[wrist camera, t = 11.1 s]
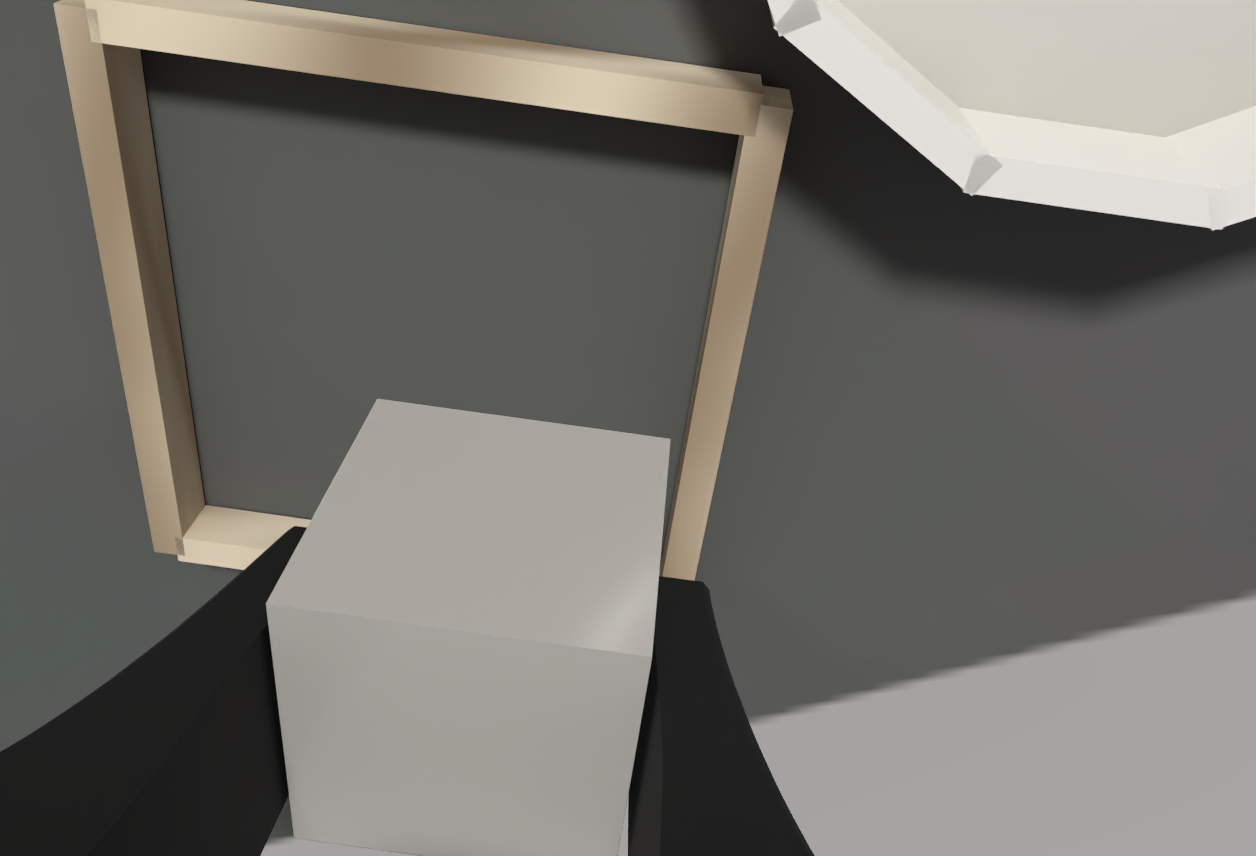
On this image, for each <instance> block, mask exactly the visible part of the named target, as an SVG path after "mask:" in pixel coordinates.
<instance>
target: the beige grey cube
mask: <svg viewBox="0 0 1256 856" xmlns="http://www.w3.org/2000/svg"><path fill="white" fill-rule="evenodd" d="M669 451H670V439H667V438H660V437H653V436H645V435H638V434H631V433H624V432H616V431H609V430H602V429H594V428H587V427H580V426H572V425H565V424H558V423H551V422H543V421H536V420H529V419H521V418H514V417H507V416H499V415H492V414H485V413H478V412H470V411H463V410H456V409H448V408H441V407H434V406H426V405H419V404H412V403H405V402H397V401H390V400H383V399H377V400H376V402H375V404H374V406H373V408H372V409H371V411H370V413H369V415H368V417H367V419H366V420H365V422H364V424H363V426H362V428H361V430H360V431H359V433H358V435H357V437H356V439H355V441H354V442H353V444H352V446H351V448H350V450H349V452H348V454H347V455H346V457H345V459H344V461H343V463H342V465H341V466H340V468H339V470H338V472H337V474H336V476H335V477H334V479H333V481H332V483H331V485H330V487H329V488H328V490H327V492H326V494H325V496H324V498H323V499H322V501H321V503H320V505H319V507H318V509H317V510H316V512H315V514H314V516H313V518H312V520H311V522H310V523H309V525H308V527H307V529H306V531H305V533H304V534H303V536H302V538H301V540H300V542H299V544H298V545H297V547H296V549H295V551H294V553H293V555H292V556H291V558H290V560H289V562H288V564H287V566H286V567H285V569H284V571H283V573H282V575H281V577H280V579H279V580H278V582H277V584H276V586H275V588H274V590H273V591H272V593H271V595H270V597H269V599H268V601H267V602H266V609H267V618H268V626H269V634H270V642H271V651H272V659H273V667H274V675H275V684H276V692H277V700H278V708H279V717H280V725H281V733H282V741H283V750H284V758H285V766H286V774H287V782H288V791H289V799H290V807H291V815H292V824H293V832H294V838H297V839H305V840H311V841H319V842H326V843H333V844H340V845H347V846H354V847H362V848H368V849H375V850H382V851H390V852H397V853H404V854H411V855H418V856H618V851H619V845H620V839H621V833H622V827H623V822H624V816H625V810H626V805H627V799H628V793H629V787H630V782H631V776H632V770H633V764H634V759H635V753H636V747H637V741H638V736H639V730H640V724H641V718H642V713H643V707H644V701H645V696H646V690H647V684H648V678H649V673H650V667H651V661H652V653H653V641H654V629H655V618H656V606H657V594H658V582H659V570H660V558H661V546H662V534H663V522H664V510H665V499H666V487H667V475H668V463H669Z"/></svg>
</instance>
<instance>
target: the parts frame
mask: <svg viewBox="0 0 1256 856" xmlns="http://www.w3.org/2000/svg"><path fill="white" fill-rule="evenodd" d="M53 4H54V10H55V15H56V20H57V26H58V31H59V37H60V42H61V48H62V53H63V58H64V64H65V69H66V75H67V80H68V86H69V91H70V96H71V102H72V107H73V113H74V118H75V123H76V129H77V134H78V140H79V145H80V151H81V156H82V161H83V167H84V172H85V178H86V183H87V189H88V194H89V199H90V205H91V210H92V216H93V221H94V227H95V232H96V237H97V243H98V248H99V254H100V259H101V265H102V270H103V275H104V281H105V286H106V292H107V297H108V303H109V308H110V313H111V319H112V324H113V330H114V335H115V340H116V346H117V351H118V357H119V362H120V368H121V373H122V378H123V384H124V389H125V395H126V400H127V406H128V411H129V416H130V422H131V427H132V433H133V438H134V444H135V449H136V454H137V460H138V465H139V471H140V476H141V482H142V487H143V492H144V498H145V503H146V509H147V514H148V519H149V525H150V530H151V536H152V541H153V547H154V552H161V553H168V554H175V555H178V560H179V561H184V562H191V563H198V564H205V565H213V566H220V567H227V568H234V569H241V570H244V569H246V568H247V567H248V566H249V565H250V564H251V563H252V562H253V561H254V560H256V559H257V558H258V557H259V556H260V555H261V554H262V553H263V552H264V551H265V550H267V549H268V548H269V547H270V546H271V545H272V544H273V543H274V542H275V541H276V540H278V539H279V538H280V537H281V536H282V535H283V534H284V533H285V532H287V531H288V530H289V529H291V528H292V527H294V526H299V527H306V528H307V527H308V525H309V523H310V522H311V520H307V519H300V518H293V517H286V516H279V515H272V514H265V513H258V512H251V511H244V510H237V509H230V508H223V507H216V506H209V505H205V501H204V494H203V487H202V480H201V473H200V466H199V459H198V452H197V445H196V438H195V431H194V424H193V417H192V410H191V403H190V396H189V389H188V382H187V375H186V368H185V361H184V354H183V347H182V340H181V333H180V326H179V319H178V312H177V305H176V298H175V291H174V284H173V277H172V270H171V263H170V256H169V249H168V242H167V235H166V228H165V221H164V214H163V207H162V200H161V193H160V186H159V179H158V172H157V165H156V158H155V151H154V144H153V137H152V130H151V123H150V116H149V109H148V102H147V95H146V88H145V81H144V74H143V67H142V60H141V53H140V49H145V50H152V51H159V52H166V53H173V54H180V55H187V56H194V57H201V58H208V59H215V60H222V61H229V62H236V63H243V64H250V65H257V66H264V67H271V68H278V69H285V70H292V71H299V72H306V73H312V74H319V75H326V76H333V77H340V78H347V79H354V80H361V81H368V82H375V83H382V84H389V85H396V86H403V87H410V88H417V89H424V90H431V91H438V92H445V93H452V94H459V95H466V96H473V97H480V98H487V99H494V100H500V101H507V102H514V103H521V104H528V105H535V106H542V107H549V108H556V109H563V110H570V111H577V112H584V113H591V114H598V115H605V116H612V117H619V118H626V119H633V120H640V121H647V122H654V123H661V124H668V125H675V126H681V127H688V128H695V129H702V130H709V131H716V132H723V133H730V134H737V135H739V139H738V145H737V150H736V156H735V161H734V167H733V172H732V178H731V183H730V189H729V194H728V200H727V205H726V210H725V216H724V221H723V227H722V232H721V238H720V243H719V249H718V254H717V260H716V265H715V271H714V276H713V281H712V287H711V292H710V298H709V303H708V309H707V314H706V320H705V325H704V331H703V336H702V342H701V347H700V352H699V358H698V363H697V369H696V374H695V380H694V385H693V391H692V396H691V402H690V407H689V413H688V418H687V423H686V429H685V434H684V440H683V445H682V451H681V456H680V462H679V467H678V473H677V478H676V484H675V489H674V494H673V500H672V505H671V511H670V516H669V522H668V527H667V533H666V538H665V544H664V549H663V554H662V560H661V565H660V570H659V576H663V577H671V578H678V579H685V580H692V581H694V580H695V575H696V570H697V566H698V561H699V556H700V551H701V547H702V542H703V537H704V532H705V528H706V523H707V518H708V513H709V509H710V504H711V499H712V494H713V490H714V485H715V480H716V475H717V470H718V466H719V461H720V456H721V451H722V447H723V442H724V437H725V432H726V428H727V423H728V418H729V413H730V409H731V404H732V399H733V394H734V390H735V385H736V380H737V375H738V371H739V366H740V361H741V356H742V352H743V347H744V342H745V337H746V332H747V328H748V323H749V318H750V313H751V309H752V304H753V299H754V294H755V290H756V285H757V280H758V275H759V271H760V266H761V261H762V256H763V252H764V247H765V242H766V237H767V233H768V228H769V223H770V218H771V214H772V209H773V204H774V199H775V194H776V190H777V185H778V180H779V175H780V171H781V166H782V161H783V156H784V152H785V147H786V142H787V137H788V133H789V128H790V123H791V118H792V114H793V106H792V101H791V96H790V91H789V89H783V88H776V87H770V86H763V85H762V80H761V75H760V74H753V73H746V72H739V71H732V70H725V69H718V68H712V67H705V66H698V65H691V64H684V63H677V62H670V61H663V60H656V59H649V58H642V57H635V56H628V55H621V54H614V53H607V52H600V51H593V50H586V49H579V48H572V47H566V46H559V45H552V44H545V43H538V42H531V41H524V40H517V39H510V38H503V37H496V36H489V35H482V34H475V33H468V32H461V31H454V30H447V29H440V28H433V27H426V26H420V25H413V24H406V23H399V22H392V21H385V20H378V19H371V18H364V17H357V16H350V15H343V14H336V13H329V12H322V11H315V10H308V9H301V8H294V7H287V6H280V5H274V4H267V3H260V2H253V1H246V0H61V1H58V2H56V3H53Z"/></svg>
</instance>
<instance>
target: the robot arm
mask: <svg viewBox="0 0 1256 856" xmlns="http://www.w3.org/2000/svg"><path fill="white" fill-rule="evenodd" d="M306 529H307V528H306V527H299V526H294V527H292V528H291V529H289V530H288V531H287V532H285V533H284V534H283V535H282V536H281V537H280V538H279V539H278V540H276V541H275V542H274V543H273V544H272V545H271V546H270V547H269V548H268V549H267V550H265V551H264V552H263V553H262V554H261V555H260V556H259V557H258V558H257V559H256V560H254V561H253V562H252V563H251V564H250V565H249V566H248V567H247V568H246V569H244V570H243V571H242V572H241V573H240V574H239V575H238V576H237V577H236V578H234V579H233V580H232V581H231V582H230V583H229V584H228V585H226V586H225V587H224V588H223V589H222V590H221V591H220V592H219V593H217V594H216V595H215V596H214V597H213V598H212V599H210V600H209V601H208V602H207V603H206V604H204V605H203V606H202V607H201V608H200V609H199V610H197V611H196V612H195V613H194V614H193V615H191V616H190V617H189V618H188V619H187V620H185V621H184V622H183V623H182V624H181V625H180V626H178V627H177V628H176V629H175V630H174V631H172V632H171V633H170V634H169V635H167V636H166V637H165V638H164V639H162V640H161V641H160V642H159V643H157V644H156V645H155V646H153V647H152V648H151V649H150V650H148V651H147V652H146V653H144V654H143V655H142V656H140V657H139V658H138V659H136V660H135V661H134V662H133V663H131V664H130V665H129V666H127V667H126V668H125V669H123V670H122V671H121V672H119V673H118V674H117V675H116V676H114V677H113V678H112V679H110V680H109V681H108V682H106V683H105V684H103V685H102V686H101V687H99V688H98V689H96V690H95V691H94V692H92V693H91V694H89V695H88V696H87V697H85V698H84V699H82V700H81V701H79V702H78V703H76V704H75V705H74V706H72V707H71V708H69V709H68V710H66V711H65V712H63V713H62V714H60V715H59V716H57V717H56V718H54V719H53V720H51V721H50V722H48V723H46V724H45V725H43V726H42V727H40V728H39V729H37V730H36V731H34V732H33V733H31V734H29V735H28V736H26V737H25V738H23V739H21V740H20V741H18V742H16V743H15V744H13V745H11V746H10V747H8V748H6V749H5V750H3V751H1V752H0V856H260V855H261V853H262V851H263V848H264V846H265V844H266V842H267V840H268V838H269V836H270V833H271V831H272V829H273V827H274V825H275V823H276V821H277V819H278V816H279V814H280V812H281V810H282V808H283V806H284V804H285V802H286V799H287V797H288V795H289V791H288V782H287V774H286V766H285V758H284V750H283V741H282V733H281V725H280V717H279V708H278V700H277V692H276V684H275V675H274V667H273V659H272V651H271V642H270V634H269V626H268V618H267V609H266V602H267V601H268V599H269V597H270V595H271V593H272V591H273V590H274V588H275V586H276V584H277V582H278V580H279V579H280V577H281V575H282V573H283V571H284V569H285V567H286V566H287V564H288V562H289V560H290V558H291V556H292V555H293V553H294V551H295V549H296V547H297V545H298V544H299V542H300V540H301V538H302V536H303V534H304V533H305V531H306ZM628 810H629V811H628V856H814V854H813V853H812V851H811V849H810V848H809V846H808V844H807V842H806V840H805V839H804V836H803V835H802V833H801V831H800V829H799V827H798V826H797V824H796V822H795V820H794V818H793V816H792V814H791V813H790V811H789V809H788V807H787V805H786V803H785V801H784V799H783V797H782V795H781V793H780V791H779V789H778V787H777V785H776V783H775V781H774V778H773V777H772V774H771V772H770V770H769V768H768V765H767V763H766V761H765V759H764V757H763V754H762V752H761V750H760V748H759V745H758V743H757V741H756V738H755V736H754V734H753V731H752V729H751V726H750V724H749V721H748V719H747V716H746V714H745V711H744V708H743V706H742V703H741V700H740V698H739V695H738V693H737V690H736V687H735V685H734V682H733V679H732V676H731V673H730V670H729V667H728V664H727V661H726V658H725V654H724V651H723V648H722V645H721V641H720V638H719V634H718V630H717V627H716V622H715V618H714V614H713V609H712V604H711V599H710V591H709V589H708V588H707V587H706V586H705V584H704V583H703V582H700V581H692V580H685V579H678V578H671V577H663V576H659V582H658V594H657V606H656V618H655V629H654V641H653V653H652V661H651V667H650V673H649V678H648V684H647V690H646V696H645V701H644V707H643V713H642V718H641V724H640V730H639V736H638V741H637V747H636V753H635V759H634V764H633V770H632V776H631V782H630V787H629V809H628Z"/></svg>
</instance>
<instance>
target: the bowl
mask: <svg viewBox="0 0 1256 856" xmlns="http://www.w3.org/2000/svg"><path fill="white" fill-rule="evenodd" d="M767 1H768V4H769V7H770V12H771V17H772V22H773V28H774V29H775V30H777V31H778V34H779V37H780V36H784V37H785V38H786V39H787V40H788V41H789V42H791V43H792V44H793V45H794V46H795V47H797V48H798V49H799V50H800V51H801V52H802V53H804V54H805V55H806V56H807V57H808V58H809V59H811V60H812V61H813V62H814V63H815V64H817V65H818V66H819V67H820V68H821V69H822V70H824V71H825V72H826V73H827V74H828V75H830V76H831V77H832V78H833V79H834V80H835V81H837V82H838V83H839V84H840V85H841V86H842V87H844V88H845V89H846V90H847V91H848V92H850V93H851V94H852V95H853V96H854V97H855V98H857V99H858V100H859V101H860V102H861V103H862V104H864V105H865V106H866V107H867V108H868V109H870V110H871V111H872V112H873V113H874V114H875V115H877V116H878V117H879V118H880V119H881V120H882V121H884V122H885V123H886V124H887V125H888V126H890V127H891V128H892V129H893V130H894V131H895V132H897V133H898V134H899V135H900V136H901V137H902V138H904V139H905V140H906V141H907V142H908V143H910V144H911V145H912V146H913V147H914V148H915V149H917V150H918V151H919V152H920V153H921V154H923V155H924V156H925V157H926V158H927V159H928V160H930V161H931V162H932V163H933V164H934V165H935V166H937V167H938V168H939V169H940V170H941V171H943V172H944V173H945V174H946V175H947V176H948V177H950V178H951V179H952V180H953V181H954V182H955V183H957V184H958V185H959V186H960V188H961V189H962V191H963V193H968V194H970V195H971V196H973V195H974V194H976V195H983V196H990V197H997V198H1004V199H1011V200H1018V201H1025V202H1032V203H1039V204H1046V205H1053V206H1060V207H1067V208H1074V209H1081V210H1087V211H1094V212H1101V213H1108V214H1115V215H1122V216H1129V217H1136V218H1143V219H1150V220H1157V221H1164V222H1171V223H1178V224H1185V225H1192V226H1199V227H1206V228H1210V229H1211V230H1212V231H1213V230H1216V229H1220V230H1222V229H1223V227H1225V226H1229V225H1232V224H1235V223H1238V222H1241V221H1244V220H1247V219H1251V218H1254V217H1256V0H767Z"/></svg>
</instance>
